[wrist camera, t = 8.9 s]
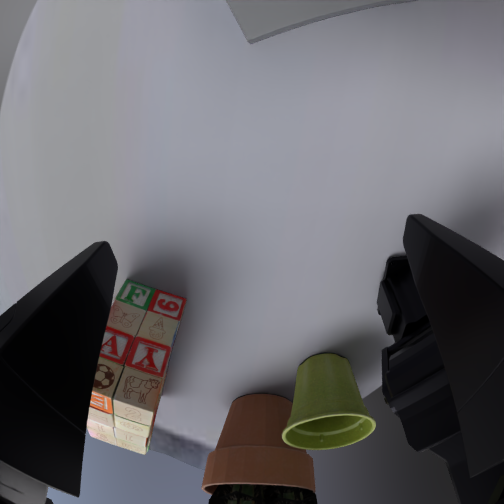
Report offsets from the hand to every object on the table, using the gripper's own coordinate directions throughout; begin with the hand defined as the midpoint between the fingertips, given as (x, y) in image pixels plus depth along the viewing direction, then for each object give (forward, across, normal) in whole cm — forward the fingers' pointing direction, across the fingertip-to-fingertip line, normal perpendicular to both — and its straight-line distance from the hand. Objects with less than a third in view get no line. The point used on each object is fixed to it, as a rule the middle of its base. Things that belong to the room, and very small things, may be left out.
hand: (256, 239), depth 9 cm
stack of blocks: (+13, +15, +23) cm, 31 cm away
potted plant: (+12, +2, +36) cm, 38 cm away
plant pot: (+12, -5, +27) cm, 30 cm away
